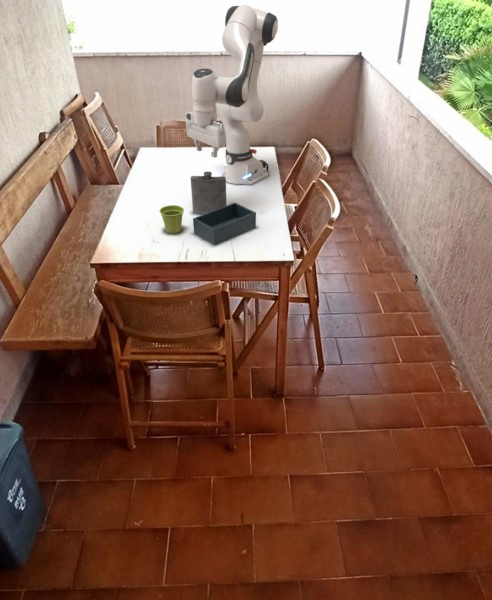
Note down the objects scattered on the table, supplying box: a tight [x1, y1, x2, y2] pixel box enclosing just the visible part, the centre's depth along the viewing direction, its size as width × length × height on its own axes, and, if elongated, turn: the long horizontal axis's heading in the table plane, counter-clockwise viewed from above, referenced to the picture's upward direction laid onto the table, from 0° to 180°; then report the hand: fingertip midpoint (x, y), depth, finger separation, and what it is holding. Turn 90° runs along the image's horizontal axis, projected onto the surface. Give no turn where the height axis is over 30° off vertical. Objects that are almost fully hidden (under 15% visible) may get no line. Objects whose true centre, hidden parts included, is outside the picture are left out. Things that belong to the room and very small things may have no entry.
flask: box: [190, 171, 228, 216], centre depth 200 cm, size 4×14×18 cm, turn 88°
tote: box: [192, 202, 257, 246], centre depth 191 cm, size 22×13×7 cm, turn 133°
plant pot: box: [158, 204, 185, 234], centre depth 190 cm, size 9×9×9 cm
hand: (206, 153), depth 190 cm, fingers open, 8 cm apart
